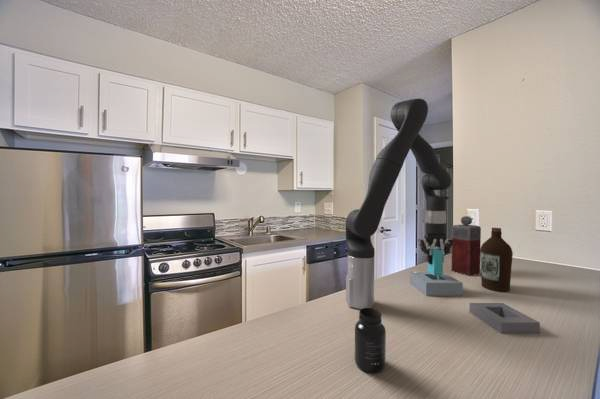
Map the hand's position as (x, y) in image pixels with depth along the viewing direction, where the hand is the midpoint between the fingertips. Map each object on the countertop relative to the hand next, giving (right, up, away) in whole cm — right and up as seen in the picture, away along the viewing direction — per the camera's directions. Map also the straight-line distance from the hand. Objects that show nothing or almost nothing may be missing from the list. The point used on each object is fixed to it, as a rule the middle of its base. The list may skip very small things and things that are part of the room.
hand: (435, 263), depth 105 cm
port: (0, -10, 0) cm, 11 cm away
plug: (0, -4, 0) cm, 4 cm away
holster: (+6, -11, -27) cm, 30 cm away
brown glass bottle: (+26, -11, +2) cm, 28 cm away
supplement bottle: (-39, -12, -46) cm, 62 cm away
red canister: (+28, -10, +24) cm, 38 cm away
